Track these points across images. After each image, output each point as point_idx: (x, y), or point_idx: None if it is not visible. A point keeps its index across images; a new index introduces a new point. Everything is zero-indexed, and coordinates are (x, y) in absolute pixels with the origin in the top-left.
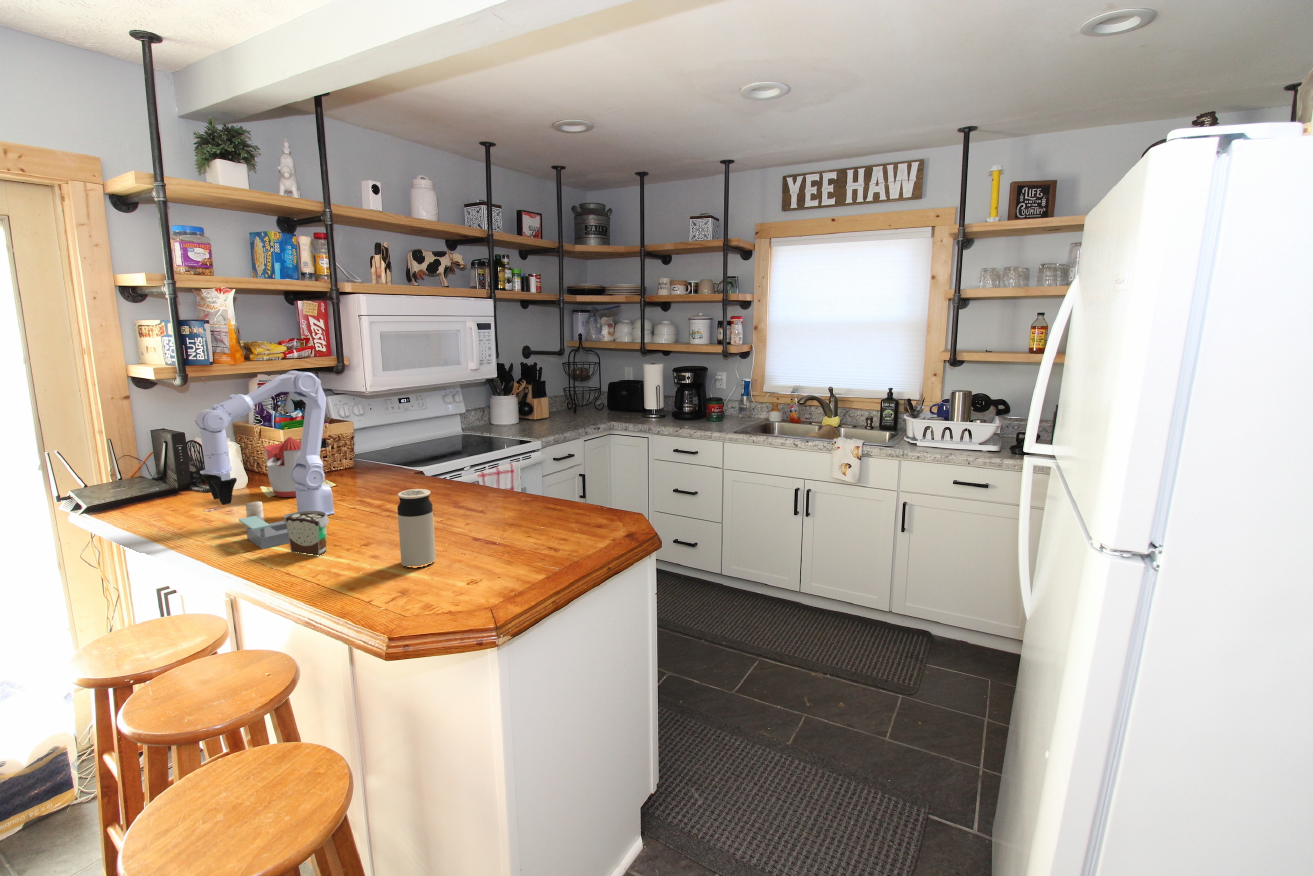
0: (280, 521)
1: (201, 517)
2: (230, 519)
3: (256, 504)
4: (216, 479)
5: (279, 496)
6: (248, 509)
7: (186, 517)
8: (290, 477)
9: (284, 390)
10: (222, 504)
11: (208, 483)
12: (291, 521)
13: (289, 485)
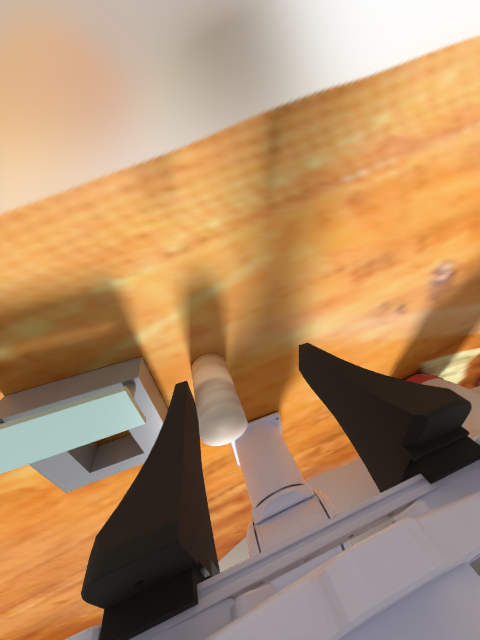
0: None
1: (408, 254)
2: (341, 312)
3: (205, 438)
4: (371, 435)
5: (406, 379)
6: (206, 409)
7: (438, 221)
8: None
9: None
10: (175, 386)
11: (364, 390)
12: None
13: None
